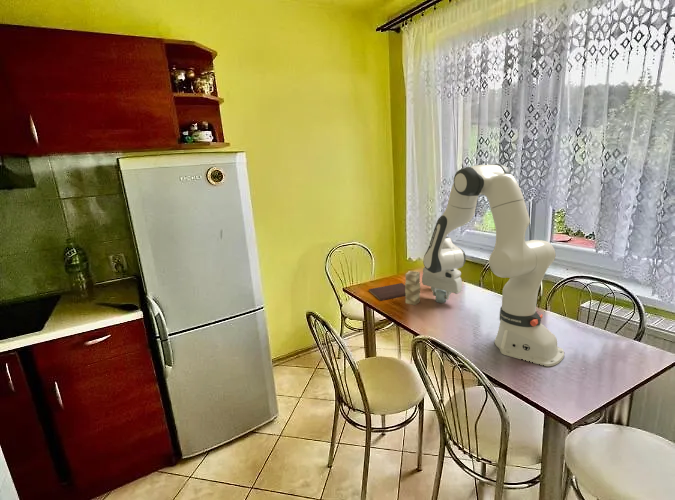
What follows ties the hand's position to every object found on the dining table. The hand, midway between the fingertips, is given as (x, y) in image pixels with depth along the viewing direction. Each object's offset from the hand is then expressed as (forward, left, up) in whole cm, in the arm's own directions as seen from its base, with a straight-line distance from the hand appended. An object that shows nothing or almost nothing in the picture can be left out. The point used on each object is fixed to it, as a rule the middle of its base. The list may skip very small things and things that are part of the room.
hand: (440, 297), depth 178 cm
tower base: (+9, +10, -2) cm, 14 cm away
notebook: (+25, +7, -3) cm, 26 cm away
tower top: (+9, +10, +8) cm, 16 cm away
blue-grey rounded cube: (0, 0, -2) cm, 2 cm away
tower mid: (+9, +10, +3) cm, 14 cm away
